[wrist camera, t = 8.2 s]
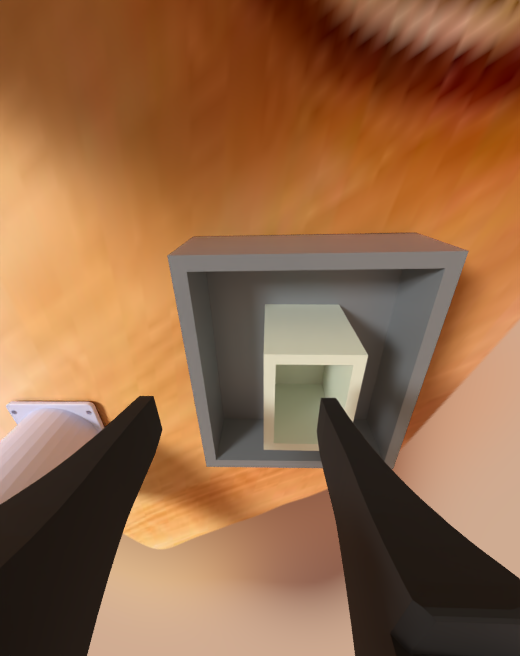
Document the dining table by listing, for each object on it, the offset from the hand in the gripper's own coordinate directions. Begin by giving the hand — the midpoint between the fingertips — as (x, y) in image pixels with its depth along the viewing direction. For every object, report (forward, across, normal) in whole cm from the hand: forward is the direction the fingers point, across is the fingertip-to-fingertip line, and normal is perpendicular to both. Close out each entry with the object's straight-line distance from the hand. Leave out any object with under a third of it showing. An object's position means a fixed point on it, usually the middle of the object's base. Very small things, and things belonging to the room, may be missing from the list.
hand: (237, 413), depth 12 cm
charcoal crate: (+9, -4, +2) cm, 10 cm away
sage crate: (+8, -4, +2) cm, 9 cm away
